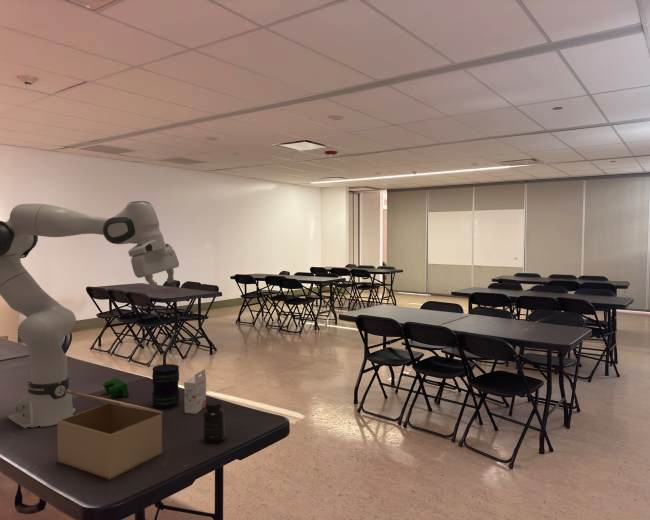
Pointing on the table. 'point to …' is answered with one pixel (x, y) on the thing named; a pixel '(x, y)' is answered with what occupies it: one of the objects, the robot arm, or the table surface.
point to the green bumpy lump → (116, 388)
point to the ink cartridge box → (195, 393)
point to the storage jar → (165, 386)
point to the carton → (109, 439)
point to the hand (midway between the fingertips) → (163, 285)
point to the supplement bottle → (213, 422)
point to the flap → (112, 401)
